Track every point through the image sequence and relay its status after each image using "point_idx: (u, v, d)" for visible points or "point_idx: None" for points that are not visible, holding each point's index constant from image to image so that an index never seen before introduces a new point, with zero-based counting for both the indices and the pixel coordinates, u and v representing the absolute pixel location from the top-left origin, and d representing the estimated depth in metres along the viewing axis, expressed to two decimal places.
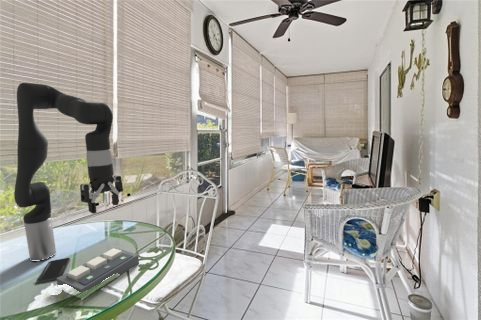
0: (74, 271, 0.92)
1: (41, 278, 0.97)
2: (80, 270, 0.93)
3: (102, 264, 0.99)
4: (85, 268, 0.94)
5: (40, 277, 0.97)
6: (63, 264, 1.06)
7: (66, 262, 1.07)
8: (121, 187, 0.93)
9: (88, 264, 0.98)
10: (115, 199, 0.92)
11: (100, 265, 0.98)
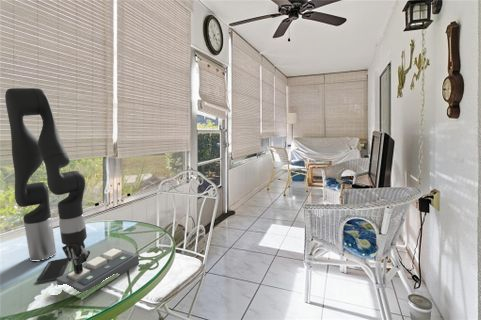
0: (74, 273, 0.92)
1: (41, 278, 0.97)
2: None
3: (102, 264, 0.99)
4: (85, 270, 0.94)
5: (40, 277, 0.97)
6: (63, 264, 1.06)
7: (66, 262, 1.07)
8: None
9: (88, 264, 0.98)
10: None
11: (100, 265, 0.98)
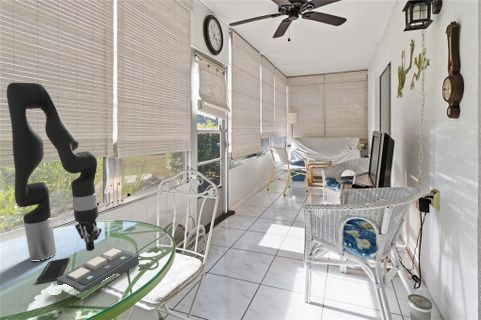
0: (74, 273, 0.92)
1: (41, 278, 0.97)
2: (80, 272, 0.93)
3: (102, 264, 0.99)
4: (85, 270, 0.94)
5: (40, 277, 0.97)
6: (63, 264, 1.06)
7: (66, 262, 1.07)
8: None
9: (88, 264, 0.98)
10: None
11: (100, 265, 0.98)
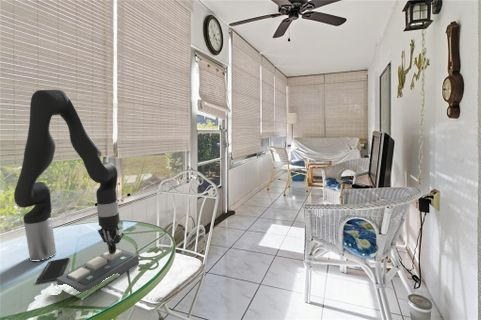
0: (74, 273, 0.92)
1: (41, 278, 0.97)
2: (80, 272, 0.93)
3: (102, 264, 0.99)
4: (85, 270, 0.94)
5: (40, 277, 0.97)
6: (63, 264, 1.06)
7: (66, 262, 1.07)
8: None
9: (88, 264, 0.98)
10: None
11: (100, 265, 0.98)
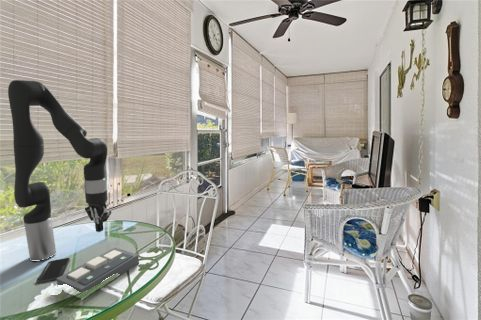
0: (74, 273, 0.92)
1: (41, 278, 0.97)
2: (80, 272, 0.93)
3: (102, 264, 0.99)
4: (85, 270, 0.94)
5: (40, 277, 0.97)
6: (63, 264, 1.06)
7: (66, 262, 1.07)
8: None
9: (88, 264, 0.98)
10: None
11: (100, 265, 0.98)
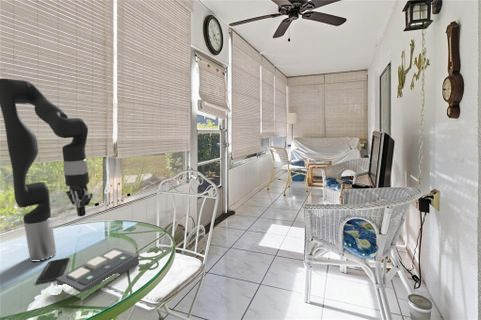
0: (74, 273, 0.92)
1: (41, 278, 0.97)
2: (80, 272, 0.93)
3: (102, 264, 0.99)
4: (85, 270, 0.94)
5: (40, 277, 0.97)
6: (63, 264, 1.06)
7: (66, 262, 1.07)
8: None
9: (88, 264, 0.98)
10: None
11: (100, 265, 0.98)
